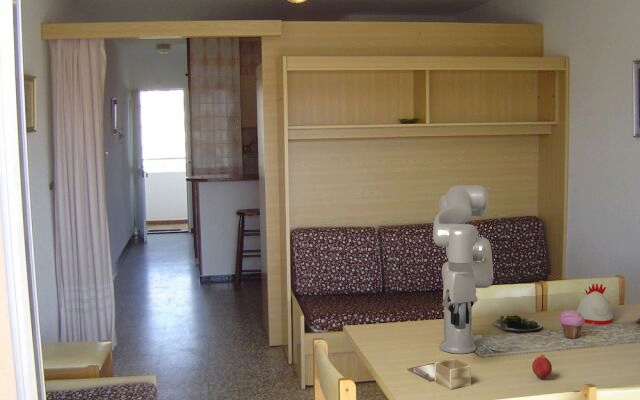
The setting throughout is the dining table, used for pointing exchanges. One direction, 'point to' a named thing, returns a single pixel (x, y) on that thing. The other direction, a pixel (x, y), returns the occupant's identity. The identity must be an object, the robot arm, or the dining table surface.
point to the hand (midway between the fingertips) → (459, 323)
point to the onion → (542, 367)
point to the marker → (461, 317)
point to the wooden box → (452, 374)
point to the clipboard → (425, 371)
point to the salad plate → (518, 324)
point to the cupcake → (571, 323)
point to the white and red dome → (595, 307)
